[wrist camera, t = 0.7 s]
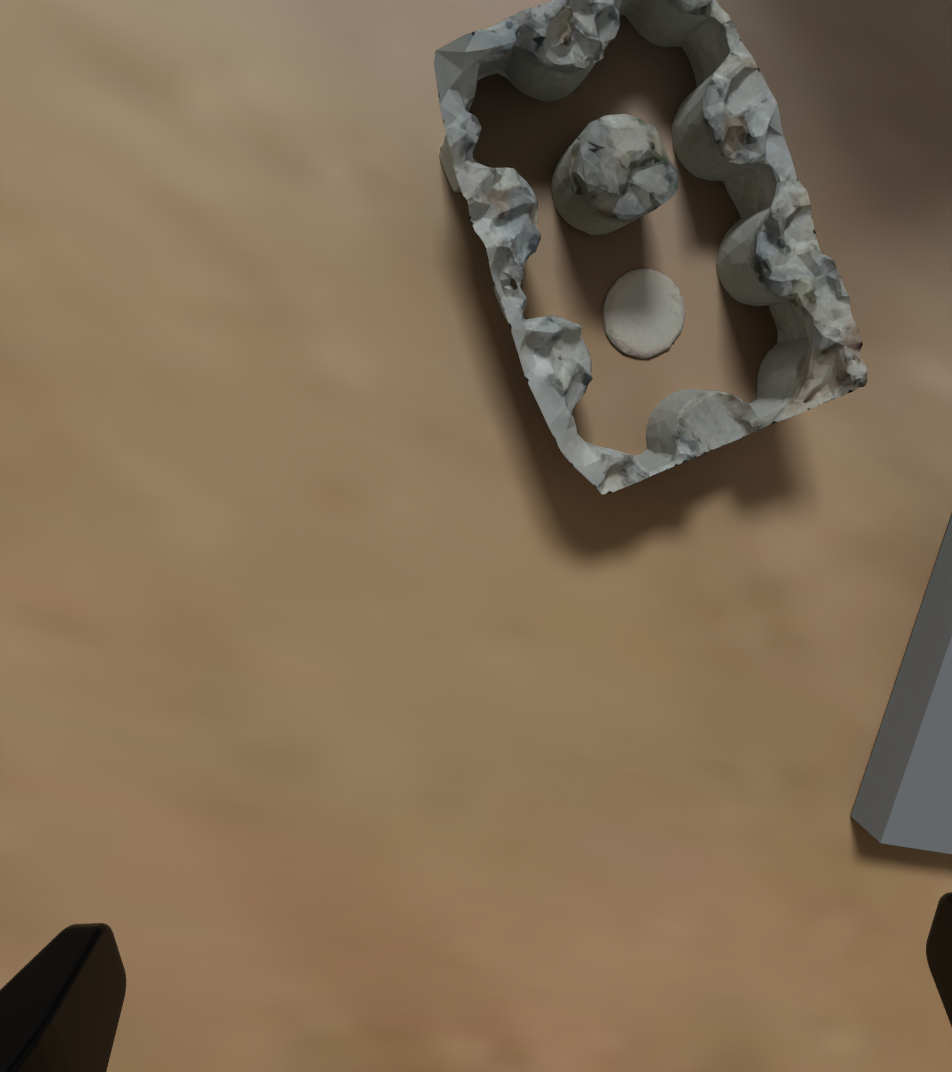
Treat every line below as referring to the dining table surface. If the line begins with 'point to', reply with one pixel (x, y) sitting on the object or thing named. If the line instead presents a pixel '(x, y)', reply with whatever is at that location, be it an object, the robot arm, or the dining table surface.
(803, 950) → the dining table surface
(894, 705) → the shelf board
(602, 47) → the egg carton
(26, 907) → the dining table surface
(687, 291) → the dining table surface
